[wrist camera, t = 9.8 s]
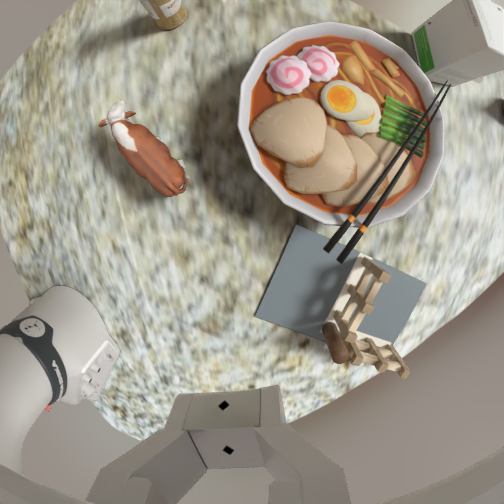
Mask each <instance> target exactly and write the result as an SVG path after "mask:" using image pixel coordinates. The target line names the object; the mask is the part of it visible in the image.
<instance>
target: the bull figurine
mask: <svg viewBox="0 0 504 504" xmlns="http://www.w3.org/2000/svg"><path fill="white" fill-rule="evenodd" d="M126 107H127V103H126V102H125V101H124V100H120V101H117V102H116V104H115V105H114V106H112V107H111V108H110V109H109V111H108V115H107V119H104V120H102V121H101V122H100V124H99V127H102V126H105V125H107V124H110V125H111V131H112V135H113V137H114V139H115V140H116V143H117V145H118V148H119V150H120V152H121V153H122V154H123V155H124V157H125V158H126V160H127V162H128V163H129V164H130V165H131V167H132V168H133V169H134V170H135V171H136V173H137V174H139V175H140V176H141V177H143V178H145V179H147V180H148V181H149V182H150V184H151V186H152V187H153V188H154V189H155V190H156V191H158V192H159V193H161V194H162V195H164V196H166V197H172V196H174V195H175V196H177V195H178V194H180V193H183V192H184V191H185V190H186V185H187V182H188V181H189V178H190V177H189V176H188V175H187V174H185V172H184V168H185V165H184V164H183V160H182V159H177V160H176V159H174V158H172V157H171V155H170V151H169V149H168V147H167V146H166V145H165V144H164V143H163V142H161V141H160V137H159V136H154V135H153V134H152V133H151V132H150V131H149V130H148V129H147V128H146V127H145V126H143V125H140V124H132V123H131V122H130V121H129V119H128V117H131V116H133V115H135V114H136V113H135V112H132V111H128V110H127V108H126ZM183 183H184V185H183ZM182 185H183V187H182V189H179V188H180V187H181V186H182Z"/></svg>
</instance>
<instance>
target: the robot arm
mask: <svg viewBox="0 0 504 504" xmlns="http://www.w3.org/2000/svg"><path fill="white" fill-rule="evenodd" d="M109 354H110V355H111V356H110V355H109ZM119 354H120V350H119V348H118V346H117V345H116V343H115V342H114V341H113V340H112V338H111V337H110V336H109V334H108V332H107V330H106V328H105V325H104V323H103V320H102V319H101V317H100V315H99V313H98V312H97V310H96V309H95V307H94V306H93V305H92V304H91V303H90V302H89V300H88V299H86V298H85V297H84V296H83V295H82V294H80V293H79V292H77V291H76V290H74V289H72V288H69V287H66V286H54V287H52V288H50V289H48V290H47V291H46V292H45V293H44V294H43V295H42V296H41V297H36V298H33V299H32V300H31V301H30V302H29V307H27V308H26V309H25V310H24V311H23V312H21V313H20V314H19V315H18V316H17V317H16V318H15V319H13V321H12V322H11V323H10V324H8V325H7V326H4V327H3V328H2V329H1V330H0V504H177V503H178V502H179V501H180V499H182V497H183V496H184V495H185V494H186V493H187V492H188V491H189V490H190V489H191V488H192V487H193V486H194V485H195V484H196V483H197V481H198V480H199V479H200V478H201V477H202V476H203V475H204V473H206V471H207V469H225V468H249V467H266V469H267V470H268V471H269V472H270V474H271V475H272V476H273V477H274V478H275V480H276V481H273V482H272V483H271V484H270V485H269V501H268V502H269V503H268V504H351V501H350V496H349V492H348V488H347V483H346V479H345V474H344V470H343V468H341V467H340V466H339V465H338V464H336V463H335V462H334V461H332V460H331V459H330V458H328V457H327V456H326V455H325V454H323V453H322V452H321V451H320V450H318V449H317V448H316V447H315V446H313V445H312V444H311V443H310V442H308V441H307V440H306V439H305V438H304V437H303V436H301V435H300V434H299V433H298V432H297V431H295V430H294V429H293V428H292V427H291V426H290V425H288V424H286V419H285V412H284V407H283V401H282V395H281V390H280V386H279V385H275V386H269V387H262V388H258V389H250V390H241V391H231V392H213V393H195V394H194V393H190V394H179V395H177V397H176V399H175V402H174V404H173V407H172V409H171V412H170V414H169V417H168V420H167V422H166V425H165V427H164V430H158V431H157V432H155V433H154V434H152V435H151V436H150V437H148V438H147V439H145V440H144V441H142V442H141V443H140V444H138V445H137V446H136V447H134V448H133V449H131V450H129V451H128V452H126V453H125V454H123V455H122V456H120V457H119V458H117V459H116V460H114V461H113V462H111V463H110V464H108V465H106V466H105V467H103V468H102V469H101V470H100V472H99V474H98V476H97V478H96V480H95V481H94V483H93V485H92V487H91V490H90V492H89V493H88V495H87V497H86V499H85V500H81V499H79V498H76V497H73V496H70V495H67V494H65V493H62V492H59V491H57V490H54V489H52V488H49V487H47V486H45V485H42V484H40V483H38V482H36V481H33V480H31V479H29V478H27V477H25V476H23V472H22V467H21V451H22V445H23V442H24V439H25V437H26V435H27V433H28V431H29V430H30V428H31V426H32V425H33V423H34V422H35V421H36V419H37V418H38V416H39V415H40V414H41V412H42V411H43V410H44V409H45V410H46V411H48V412H49V410H47V409H46V408H45V407H48V408H52V407H51V406H49V405H51V404H53V403H54V402H57V401H62V402H64V403H67V404H71V405H76V404H78V403H79V402H80V401H81V399H82V398H84V399H88V400H94V401H96V400H97V399H98V398H99V397H100V395H101V393H102V391H103V388H104V386H105V384H106V382H107V380H108V377H109V375H110V373H111V371H112V369H113V367H114V365H115V362H116V360H117V358H118V356H119ZM379 504H504V447H502V448H501V449H499V450H497V451H496V452H494V453H493V454H491V455H489V456H488V457H486V458H485V459H482V460H481V461H479V462H477V463H475V464H474V465H472V466H470V467H468V468H466V469H464V470H462V471H460V472H458V473H456V474H454V475H452V476H450V477H448V478H446V479H444V480H441V481H439V482H437V483H435V484H432V485H430V486H428V487H425V488H422V489H420V490H417V491H415V492H412V493H409V494H407V495H404V496H401V497H398V498H395V499H392V500H389V501H386V502H383V503H379Z"/></svg>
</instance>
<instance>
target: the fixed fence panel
mask: <svg viewBox="0 0 504 504" xmlns="http://www.w3.org/2000/svg"><path fill="white" fill-rule="evenodd" d="M340 335H341V337H342V340H343V342H344V344H345V346H346V348H347V350H348V352H349V358H350V361H351V363H352V364H354V365H357V366H359V365H360V363H361V362H364V363H367V364H371V365H374V366H375V367H376V369H377V371H379V372H382V373H384V372H385V370H386V369H389V370H393V371H396V372H398V374H399V376H400V377H402V378H406V377H407V376H408V374H409V373H410V370H409V368H408V367H407V365H406V364H405V363H404V361H403V360H402V358H401V357H400V355H399V354H398V353H397V351H396V350H395V348H394V347H393V346H392V345H389V344H387V346H386V348H385V349H384V348H381V347H378V346H376V344H375V343H374V341H373V340H372V339H371V338H368V337H366V339H365V341H364V342H363V341H360V340H357V339H356V340H355V342H354V343H350V342H348V341H345V340H344V338H343V336H342V334H340ZM360 350H361V351H360ZM362 351H365V352H367V353H365V352H362ZM385 358H388V359H389V360H388V359H385Z"/></svg>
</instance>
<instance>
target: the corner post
mask: <svg viewBox="0 0 504 504" xmlns="http://www.w3.org/2000/svg"><path fill="white" fill-rule="evenodd" d="M322 332H323V335H324V337H325V340H326V343H327V345H328V348H329V351H330V354H331V356H332V359H333V361H334V362H335V363H337V364H342V363H344V362H346V361H347V360H348V358H349V352H348V350H347V348H346V346H345V344H344V342H343V340H342V337H341V335H340V333H339V331H338V329H337V327H336V325H335V324H334V323H333V322H327V323H325V324H324V325H323V327H322Z"/></svg>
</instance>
